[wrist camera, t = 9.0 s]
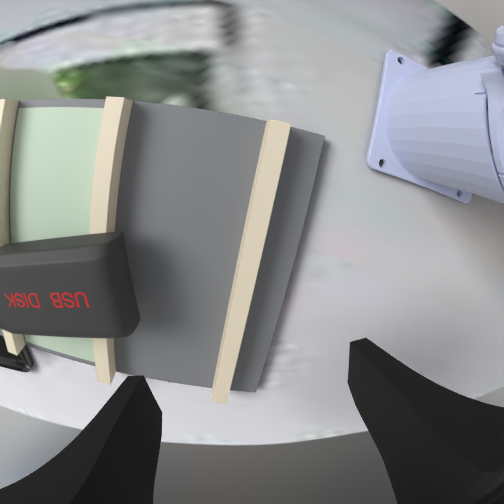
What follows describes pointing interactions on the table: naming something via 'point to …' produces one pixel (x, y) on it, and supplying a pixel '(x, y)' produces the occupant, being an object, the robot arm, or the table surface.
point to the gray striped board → (165, 225)
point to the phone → (15, 358)
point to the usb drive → (68, 287)
